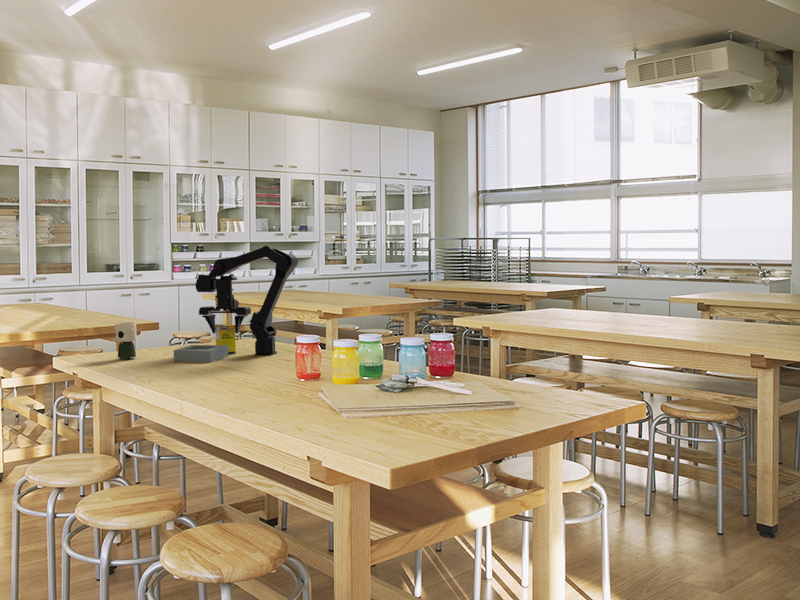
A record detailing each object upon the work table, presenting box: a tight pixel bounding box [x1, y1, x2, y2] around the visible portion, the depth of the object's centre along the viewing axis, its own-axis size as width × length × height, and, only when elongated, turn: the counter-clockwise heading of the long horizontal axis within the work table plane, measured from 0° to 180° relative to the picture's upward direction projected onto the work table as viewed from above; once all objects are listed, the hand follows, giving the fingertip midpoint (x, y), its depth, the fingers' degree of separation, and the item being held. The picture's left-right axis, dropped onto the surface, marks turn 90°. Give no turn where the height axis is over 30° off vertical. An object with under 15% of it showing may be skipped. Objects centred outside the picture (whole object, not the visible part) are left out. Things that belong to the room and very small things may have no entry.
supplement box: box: [215, 323, 237, 355], centre depth 268 cm, size 6×6×11 cm
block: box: [173, 344, 229, 363], centre depth 255 cm, size 14×14×4 cm
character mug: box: [114, 321, 138, 360], centre depth 256 cm, size 11×7×13 cm, turn 49°
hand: (225, 333), depth 268 cm, fingers open, 9 cm apart
